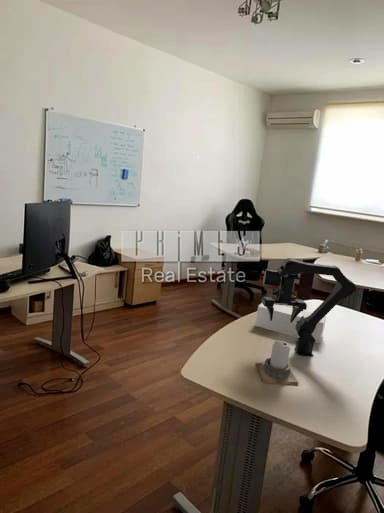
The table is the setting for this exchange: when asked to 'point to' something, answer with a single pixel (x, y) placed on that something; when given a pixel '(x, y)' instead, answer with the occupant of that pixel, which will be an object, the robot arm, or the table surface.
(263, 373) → the can holder
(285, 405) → the table surface
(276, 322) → the white foam block
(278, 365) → the beverage can
